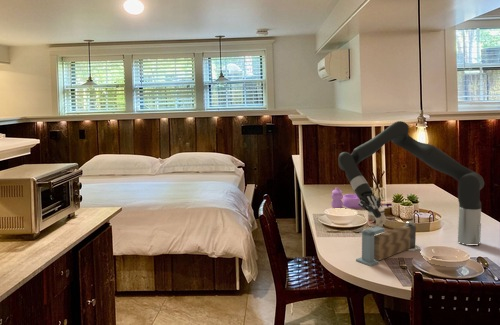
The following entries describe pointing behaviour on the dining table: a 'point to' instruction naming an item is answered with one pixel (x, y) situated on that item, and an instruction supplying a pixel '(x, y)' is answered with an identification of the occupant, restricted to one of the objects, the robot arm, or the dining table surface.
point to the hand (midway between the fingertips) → (379, 216)
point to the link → (394, 241)
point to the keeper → (369, 245)
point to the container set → (344, 200)
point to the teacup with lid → (376, 219)
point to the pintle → (415, 245)
